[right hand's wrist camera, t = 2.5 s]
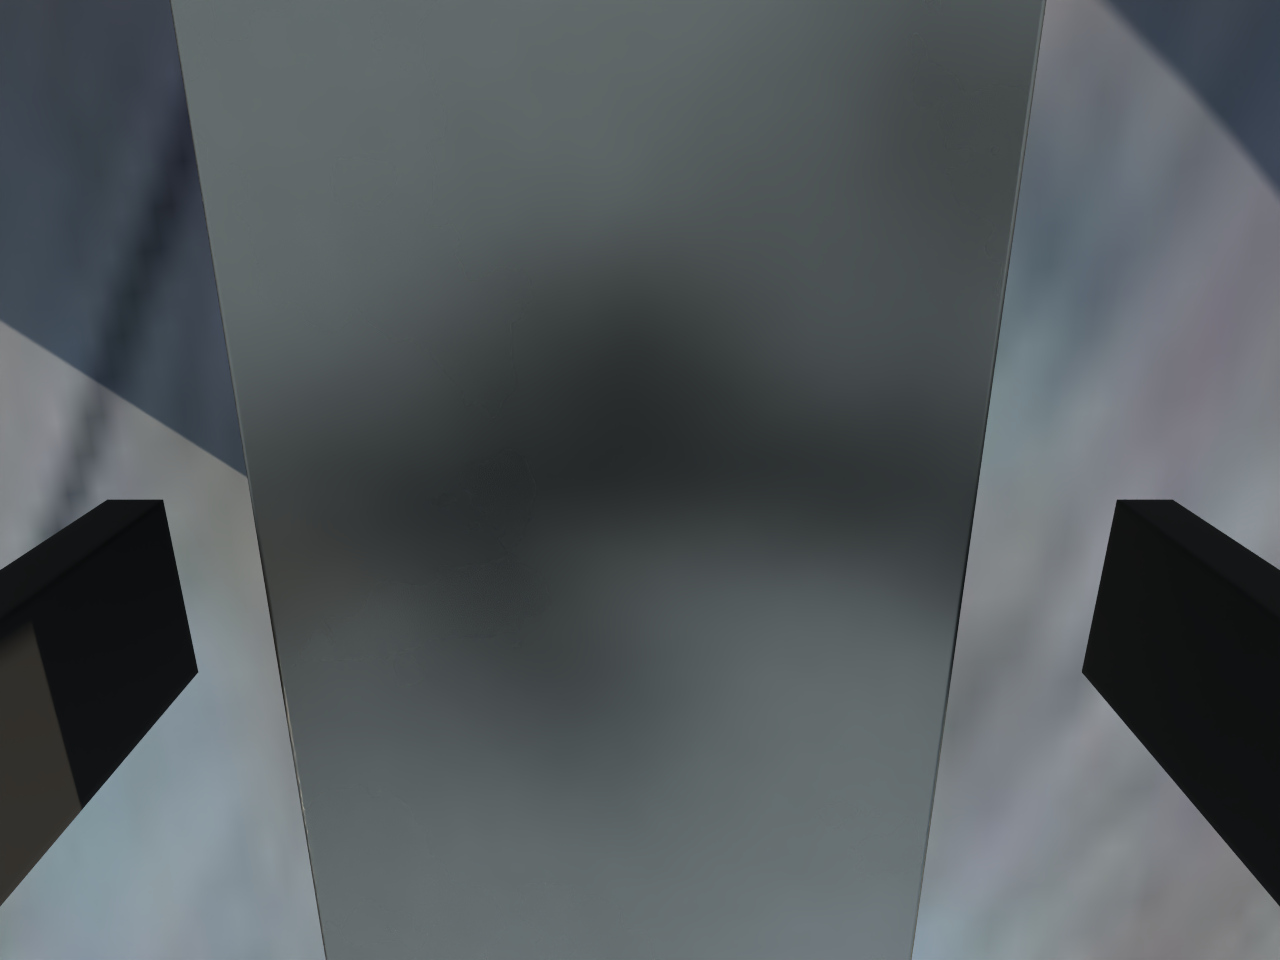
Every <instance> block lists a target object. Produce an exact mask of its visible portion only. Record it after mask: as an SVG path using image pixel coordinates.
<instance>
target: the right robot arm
mask: <svg viewBox="0 0 1280 960" xmlns="http://www.w3.org/2000/svg"><path fill="white" fill-rule="evenodd" d="M197 673H198V669H197V664H196V659H195V654H194V649H193V644H192V639H191V634H190V630H189V625H188V620H187V615H186V610H185V605H184V600H183V595H182V590H181V585H180V580H179V576H178V571H177V566H176V561H175V556H174V551H173V546H172V541H171V536H170V531H169V527H168V522H167V517H166V512H165V507H164V502H163V500H106V501H105V502H103V503H102V504H100V505H99V506H97V507H96V508H94V509H93V510H91V511H89V512H88V513H86V514H85V515H83V516H82V517H80V518H79V519H77V520H76V521H74V522H73V523H71V524H70V525H68V526H67V527H65V528H64V529H62V530H61V531H59V532H58V533H56V534H54V535H53V536H51V537H50V538H48V539H47V540H45V541H44V542H42V543H41V544H39V545H38V546H36V547H35V548H33V549H32V550H30V551H29V552H27V553H26V554H24V555H23V556H21V557H20V558H18V559H16V560H15V561H13V562H12V563H10V564H9V565H7V566H6V567H4V568H3V569H1V570H0V906H1V905H2V904H3V902H4V901H5V900H6V899H7V898H8V897H9V895H10V894H11V893H12V892H13V891H14V889H15V888H16V887H17V886H18V885H19V883H20V882H21V881H22V880H23V879H24V878H25V876H26V875H27V874H28V873H29V872H30V870H31V869H32V868H33V867H34V866H35V865H36V863H37V862H38V861H39V860H40V859H41V857H42V856H43V855H44V854H45V853H46V852H47V850H48V849H49V848H50V847H51V846H52V844H53V843H54V842H55V841H56V840H57V839H58V837H59V836H60V835H61V834H62V833H63V831H64V830H65V829H66V828H67V827H68V826H69V824H70V823H71V822H72V821H73V820H74V818H75V817H76V816H77V815H78V814H79V813H80V811H81V810H82V809H83V808H84V807H85V805H86V804H87V803H88V802H89V801H90V800H91V798H92V797H93V796H94V795H95V794H96V792H97V791H98V790H99V789H100V788H101V786H102V785H103V784H104V783H105V782H106V781H107V779H108V778H109V777H110V776H111V775H112V773H113V772H114V771H115V770H116V769H117V768H118V766H119V765H120V764H121V763H122V762H123V760H124V759H125V758H126V757H127V756H128V755H129V753H130V752H131V751H132V750H133V749H134V747H135V746H136V745H137V744H138V743H139V742H140V740H141V739H142V738H143V737H144V736H145V734H146V733H147V732H148V731H149V730H150V729H151V727H152V726H153V725H154V724H155V723H156V721H157V720H158V719H159V718H160V717H161V716H162V714H163V713H164V712H165V711H166V710H167V708H168V707H169V706H170V705H171V704H172V702H173V701H174V700H175V699H176V698H177V697H178V695H179V694H180V693H181V692H182V691H183V689H184V688H185V687H186V686H187V685H188V684H189V682H190V681H191V680H192V679H193V678H194V676H195V675H196V674H197ZM1082 673H1083V674H1084V675H1085V676H1086V678H1087V679H1088V680H1089V681H1090V682H1091V684H1092V685H1093V686H1094V687H1095V688H1096V689H1097V691H1098V692H1099V693H1100V694H1101V695H1102V697H1103V698H1104V699H1105V700H1106V701H1107V702H1108V704H1109V705H1110V706H1111V707H1112V708H1113V710H1114V711H1115V712H1116V713H1117V714H1118V716H1119V717H1120V718H1121V719H1122V720H1123V721H1124V723H1125V724H1126V725H1127V726H1128V727H1129V729H1130V730H1131V731H1132V732H1133V733H1134V734H1135V736H1136V737H1137V738H1138V739H1139V740H1140V742H1141V743H1142V744H1143V745H1144V746H1145V747H1146V749H1147V750H1148V751H1149V752H1150V753H1151V755H1152V756H1153V757H1154V758H1155V759H1156V760H1157V762H1158V763H1159V764H1160V765H1161V766H1162V768H1163V769H1164V770H1165V771H1166V772H1167V773H1168V775H1169V776H1170V777H1171V778H1172V779H1173V781H1174V782H1175V783H1176V784H1177V785H1178V786H1179V788H1180V789H1181V790H1182V791H1183V792H1184V794H1185V795H1186V796H1187V797H1188V798H1189V800H1190V801H1191V802H1192V803H1193V804H1194V805H1195V807H1196V808H1197V809H1198V810H1199V811H1200V813H1201V814H1202V815H1203V816H1204V817H1205V818H1206V820H1207V821H1208V822H1209V823H1210V824H1211V826H1212V827H1213V828H1214V829H1215V830H1216V831H1217V833H1218V834H1219V835H1220V836H1221V837H1222V839H1223V840H1224V841H1225V842H1226V843H1227V844H1228V846H1229V847H1230V848H1231V849H1232V850H1233V852H1234V853H1235V854H1236V855H1237V856H1238V857H1239V859H1240V860H1241V861H1242V862H1243V863H1244V865H1245V866H1246V867H1247V868H1248V869H1249V870H1250V872H1251V873H1252V874H1253V875H1254V876H1255V878H1256V879H1257V880H1258V881H1259V882H1260V883H1261V885H1262V886H1263V887H1264V888H1265V889H1266V891H1267V892H1268V893H1269V894H1270V895H1271V897H1272V898H1273V899H1274V900H1275V901H1276V902H1277V904H1278V905H1279V906H1280V570H1279V569H1277V568H1276V567H1274V566H1273V565H1271V564H1270V563H1268V562H1267V561H1265V560H1264V559H1262V558H1260V557H1259V556H1257V555H1256V554H1254V553H1253V552H1251V551H1250V550H1248V549H1247V548H1245V547H1244V546H1242V545H1241V544H1239V543H1238V542H1236V541H1235V540H1233V539H1232V538H1230V537H1229V536H1227V535H1226V534H1224V533H1222V532H1221V531H1219V530H1218V529H1216V528H1215V527H1213V526H1212V525H1210V524H1209V523H1207V522H1206V521H1204V520H1203V519H1201V518H1200V517H1198V516H1197V515H1195V514H1194V513H1192V512H1191V511H1189V510H1187V509H1186V508H1184V507H1183V506H1181V505H1180V504H1178V503H1177V502H1175V501H1174V500H1117V502H1116V507H1115V512H1114V517H1113V522H1112V527H1111V531H1110V536H1109V541H1108V546H1107V551H1106V556H1105V561H1104V566H1103V571H1102V576H1101V580H1100V585H1099V590H1098V595H1097V600H1096V605H1095V610H1094V615H1093V620H1092V625H1091V630H1090V634H1089V639H1088V644H1087V649H1086V654H1085V659H1084V664H1083V669H1082Z"/></svg>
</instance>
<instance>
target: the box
mask: <svg viewBox="0 0 1280 960" xmlns="http://www.w3.org/2000/svg"><path fill="white" fill-rule="evenodd" d="M170 5H171V11H172V17H173V23H174V29H175V35H176V42H177V48H178V54H179V60H180V66H181V72H182V78H183V85H184V91H185V97H186V103H187V109H188V115H189V121H190V128H191V134H192V140H193V146H194V152H195V158H196V164H197V171H198V177H199V183H200V189H201V195H202V201H203V207H204V214H205V220H206V226H207V232H208V238H209V244H210V250H211V257H212V263H213V269H214V275H215V281H216V287H217V293H218V300H219V306H220V312H221V318H222V324H223V330H224V336H225V343H226V349H227V355H228V361H229V367H230V373H231V379H232V386H233V392H234V398H235V404H236V410H237V416H238V422H239V429H240V435H241V441H242V447H243V453H244V459H245V465H246V472H247V478H248V484H249V490H250V496H251V502H252V508H253V515H254V521H255V527H256V533H257V539H258V545H259V551H260V558H261V564H262V570H263V576H264V582H265V588H266V594H267V601H268V607H269V613H270V619H271V625H272V631H273V637H274V644H275V650H276V656H277V662H278V668H279V674H280V680H281V687H282V693H283V699H284V705H285V711H286V717H287V723H288V730H289V736H290V742H291V748H292V754H293V760H294V766H295V773H296V779H297V785H298V791H299V797H300V803H301V809H302V816H303V822H304V828H305V834H306V840H307V846H308V852H309V859H310V865H311V871H312V877H313V883H314V889H315V895H316V902H317V908H318V914H319V920H320V926H321V932H322V938H323V945H324V951H325V957H326V960H911V959H912V952H913V945H914V938H915V930H916V923H917V916H918V909H919V902H920V895H921V888H922V881H923V873H924V866H925V859H926V852H927V845H928V838H929V831H930V824H931V817H932V809H933V802H934V795H935V788H936V781H937V774H938V767H939V760H940V753H941V745H942V738H943V731H944V724H945V717H946V710H947V703H948V696H949V689H950V681H951V674H952V667H953V660H954V653H955V646H956V639H957V632H958V624H959V617H960V610H961V603H962V596H963V589H964V582H965V575H966V568H967V560H968V553H969V546H970V539H971V532H972V525H973V518H974V511H975V504H976V496H977V489H978V482H979V475H980V468H981V461H982V454H983V447H984V440H985V432H986V425H987V418H988V411H989V404H990V397H991V390H992V383H993V375H994V368H995V361H996V354H997V347H998V340H999V333H1000V326H1001V319H1002V311H1003V304H1004V297H1005V290H1006V283H1007V276H1008V269H1009V262H1010V255H1011V247H1012V240H1013V233H1014V226H1015V219H1016V212H1017V205H1018V198H1019V191H1020V183H1021V176H1022V169H1023V162H1024V155H1025V148H1026V141H1027V134H1028V127H1029V119H1030V112H1031V105H1032V98H1033V91H1034V84H1035V77H1036V70H1037V62H1038V55H1039V48H1040V41H1041V34H1042V27H1043V20H1044V13H1045V6H1046V0H170Z"/></svg>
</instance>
